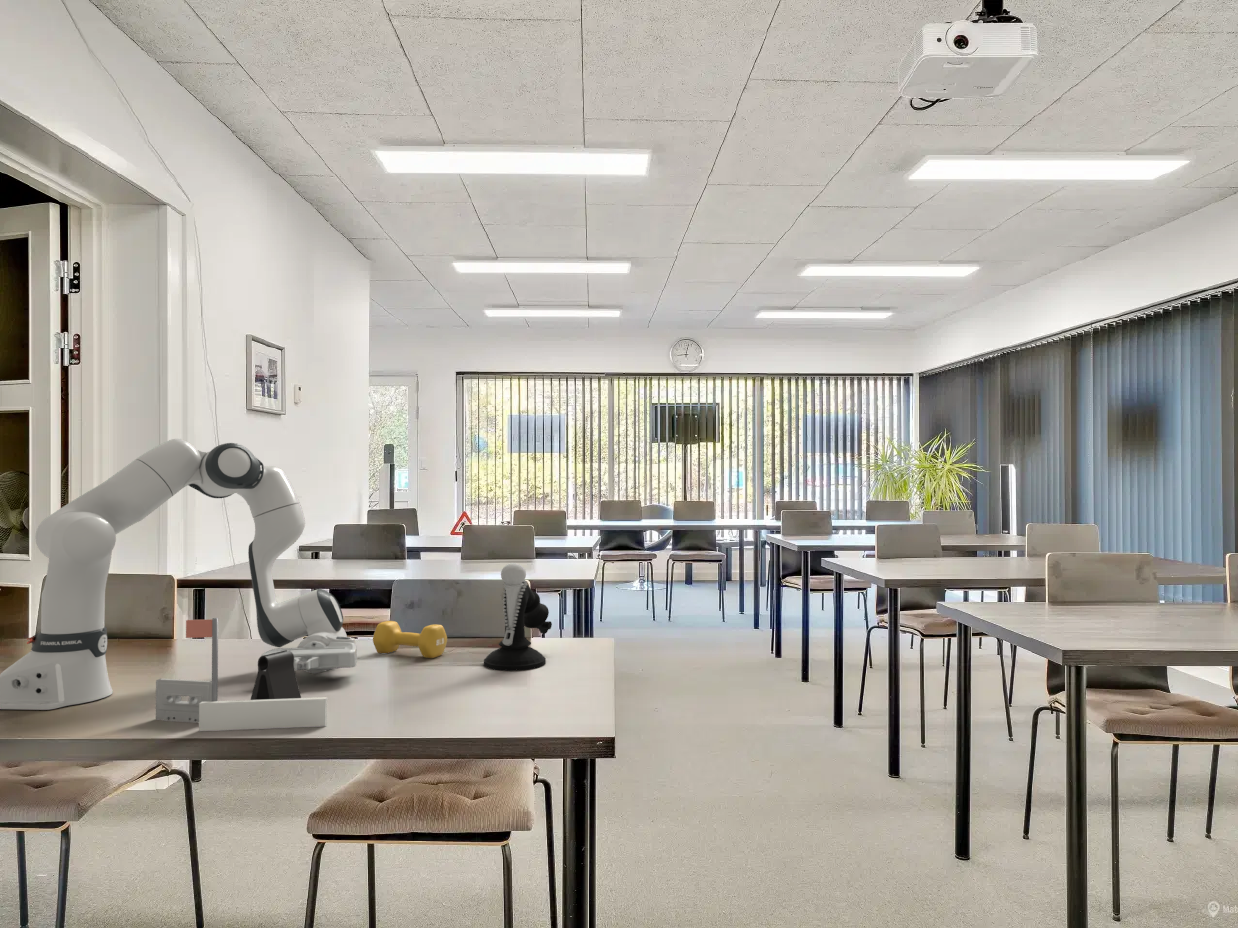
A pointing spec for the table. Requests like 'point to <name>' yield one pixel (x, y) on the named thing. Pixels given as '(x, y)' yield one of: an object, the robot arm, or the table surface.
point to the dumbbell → (410, 639)
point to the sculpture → (519, 623)
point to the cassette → (171, 703)
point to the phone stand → (276, 677)
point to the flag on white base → (251, 711)
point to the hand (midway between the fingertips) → (301, 666)
